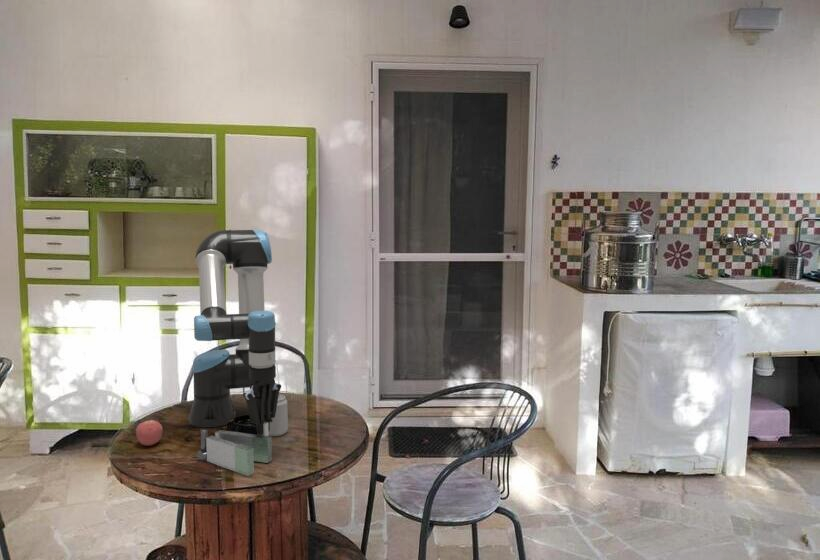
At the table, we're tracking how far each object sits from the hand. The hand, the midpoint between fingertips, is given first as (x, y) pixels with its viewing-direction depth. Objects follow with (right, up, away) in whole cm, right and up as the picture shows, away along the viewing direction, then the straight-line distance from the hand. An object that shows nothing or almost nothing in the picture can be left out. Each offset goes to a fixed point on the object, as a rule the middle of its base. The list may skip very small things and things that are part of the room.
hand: (263, 443), depth 180 cm
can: (0, -2, +18) cm, 18 cm away
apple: (-36, -2, +7) cm, 37 cm away
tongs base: (-9, -4, -7) cm, 12 cm away
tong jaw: (-5, -3, -2) cm, 7 cm away
